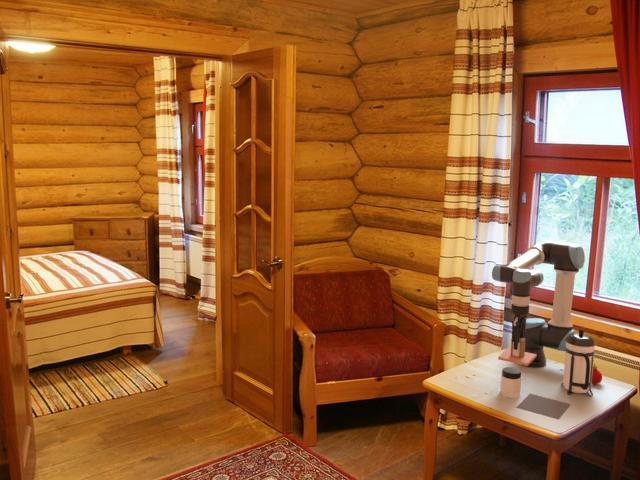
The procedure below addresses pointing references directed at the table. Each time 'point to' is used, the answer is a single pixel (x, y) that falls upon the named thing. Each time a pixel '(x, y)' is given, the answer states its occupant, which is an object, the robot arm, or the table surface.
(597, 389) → the table surface
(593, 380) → the christmas ornament
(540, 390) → the table surface
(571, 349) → the coffee press
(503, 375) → the jar
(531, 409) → the mat
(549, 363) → the table surface
